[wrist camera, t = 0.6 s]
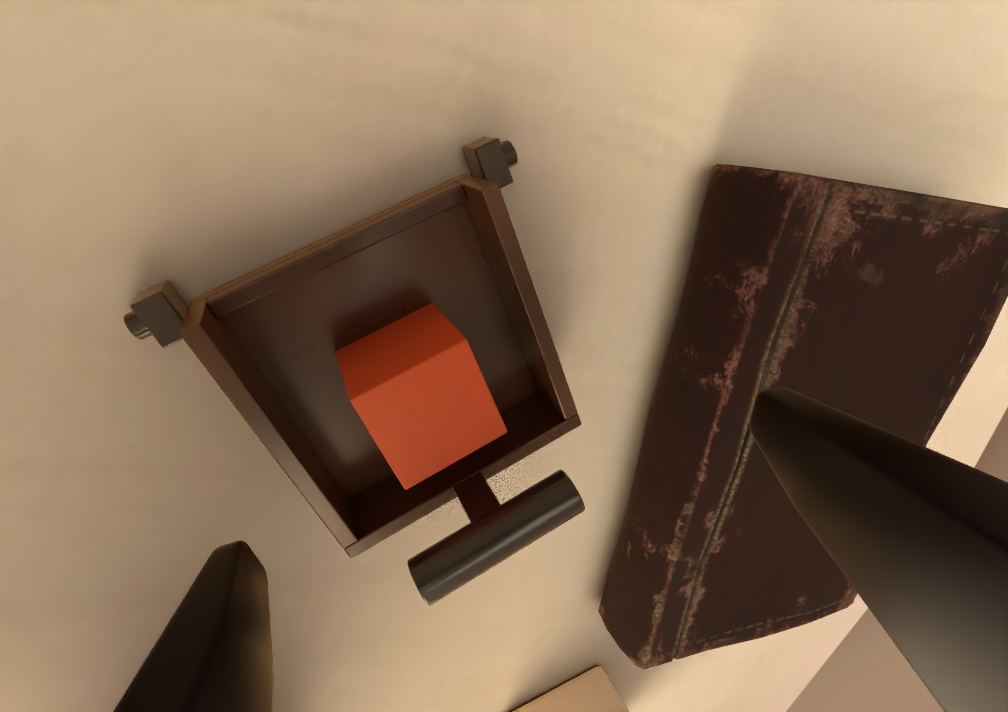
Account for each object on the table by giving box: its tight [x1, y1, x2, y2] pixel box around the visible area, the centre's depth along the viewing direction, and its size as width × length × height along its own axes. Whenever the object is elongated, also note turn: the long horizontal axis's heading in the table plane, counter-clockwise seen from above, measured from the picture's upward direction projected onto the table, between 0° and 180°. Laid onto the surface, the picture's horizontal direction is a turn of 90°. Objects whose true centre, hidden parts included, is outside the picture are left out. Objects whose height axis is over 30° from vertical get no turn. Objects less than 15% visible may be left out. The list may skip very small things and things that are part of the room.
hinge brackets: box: [124, 137, 518, 348], centre depth 18 cm, size 2×14×1 cm, turn 111°
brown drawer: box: [180, 174, 585, 605], centre depth 18 cm, size 11×10×7 cm
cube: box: [335, 303, 507, 490], centre depth 19 cm, size 4×4×4 cm
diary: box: [599, 164, 1008, 669], centre depth 29 cm, size 19×25×5 cm
